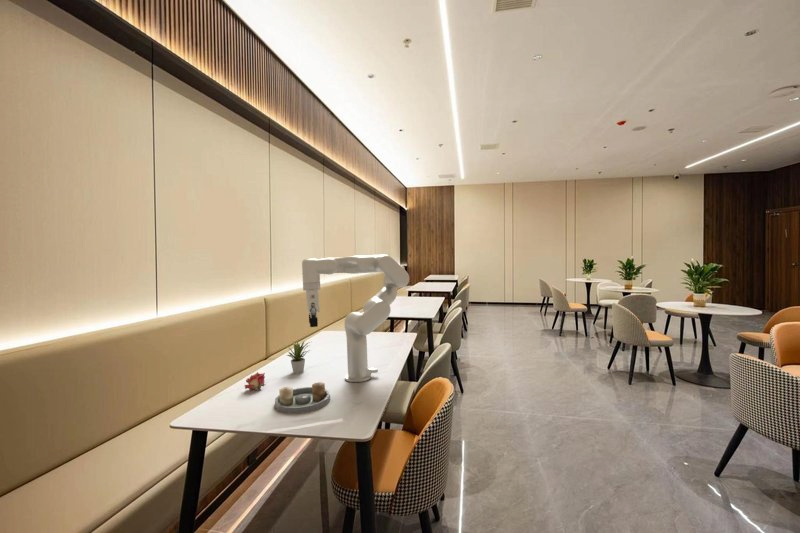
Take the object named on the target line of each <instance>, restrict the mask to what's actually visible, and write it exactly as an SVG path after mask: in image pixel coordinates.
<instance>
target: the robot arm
mask: <svg viewBox="0 0 800 533" xmlns="http://www.w3.org/2000/svg"><path fill="white" fill-rule="evenodd" d="M301 270H302V274H301V275H302V289H303V290H302V291H305V298H306V300H305V301H306V308H307V312H308V322H309V327H310V328H316V327H317V328H318V324H319V323H318V321H319V320H318V313H320V311H321V310H320V309H321V308H320V297H319V296H320V294H319V291H320V290H321V275H333V274H350V275H352V274H355V275H358V274H369V273H370V274H371V273H372V274H373V273H383V274H384V275H383V281H382V282H383V284H382V288H381V289H380V290H379V291H378V292H377V293H376V294H374V296H372V297H371V298H369V299H368V300H367V301H366V302H365V303H364V304H363V307H362V312H363V313H362V312H358V311H352V312H350V313H348V314H347V315H346V316H345V319H344V331H345V337H346V354H347V355H346V356H347V359H346V360H347V374H346V375H344V380H345V381H346V382H350V383H362V382H367V381H369V380H370V379H371V378H372V374H376V373H379V370H378V368H374V367H371V368H369V365H368V364H369V363H368V362H369V361H368V340H367V335H369V334H371V333H372V332H374V330H376V329H377V328H379V327H380V325H382V324H383V323H384V322H385V321H386V320H387V319H388V318H389V316H390V314H391V312H392V311H391V309H392V308H391V306H390V305H392V303H393V302H395V300H396V298H397V295H398V288H405V287H406V286H407V285H408V284H409V283H410V275H409V273H408V272H407V271H406V269H405V268H403V267H402V266H401V264H399V262H398V261H396V260H395V259H394V258H393V257H392V256H390V255H388V254H372V255H371V254H370V255H368V254H367V255H351V256H343V257H322V258H319V259H318V258H307V259H306V258H305V259H303V260H302V261H301Z"/></svg>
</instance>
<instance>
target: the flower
mask: <svg viewBox="0 0 800 533" xmlns="http://www.w3.org/2000/svg"><path fill="white" fill-rule="evenodd" d="M245 381H246V383H247V384H245V385H244V389H245V390H247V389H248V390H249V391H257V389H258V391H262V389H261V388H262V387H264V386H266V384H267V383H265V372H264V373H259V372H255V374H253V375H251V376H250V377H248V378H247V379H245Z"/></svg>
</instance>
